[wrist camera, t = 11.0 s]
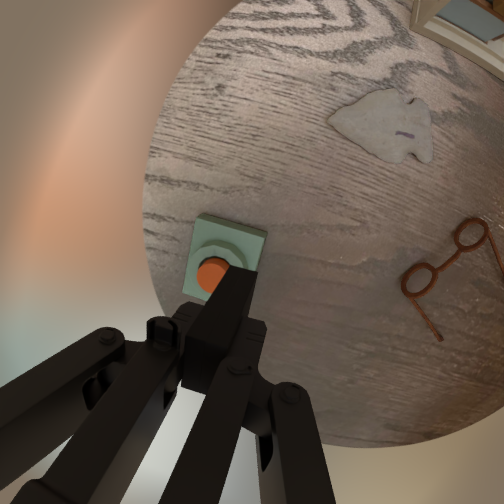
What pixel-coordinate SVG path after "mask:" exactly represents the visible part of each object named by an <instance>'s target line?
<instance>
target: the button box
mask: <svg viewBox="0 0 504 504" xmlns="http://www.w3.org/2000/svg"><path fill="white" fill-rule="evenodd" d="M266 236H267V232H264V231H261V230H258V229H254V228H251V227H248V226H244V225H241V224H237V223H234V222H231V221H227V220H224V219H221V218H217V217H214V216H210V215H207V214H203V213H202V214H201V215H199V216H198V217H196V221H195V226H194V231H193V236H192V241H191V247H190V252H189V258H188V263H187V269H186V275H185V280H184V286H183V293H185V294H188V295H191V296H194V297H197V298H199V299H202V300H205V301H208V299H209V297H210V296H211V294H212V293H208V292H206V291H205V290H203V289H202V288H201V287H200V285H199V284H198V281H197V271H198V269H199V268H200V267H201V266H202V264H203V263H204V262H205V261H206V260H208V259H210V258H220V259H223V260H224V261H226V262H227V263H228V264H229V265H233V266H237V267H241V268H245V269H249V270H252V271H257V267H258V264H259V260H260V257H261V253H262V250H263V246H264V243H265V239H266Z"/></svg>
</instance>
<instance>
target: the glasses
mask: <svg viewBox="0 0 504 504" xmlns="http://www.w3.org/2000/svg"><path fill="white" fill-rule="evenodd" d="M475 223H477V224H480V225H482V226H483V227H484V234H483V236H482V238H481V239H480V240H479V241H478V242H477V243H475V244H473V245H470V246H463V245H462V244H460V242H459V235H460V233H461V232H462V230H463V229H464V228H466V227H467V226H469V225H471V224H475ZM487 238H489V241H490V243H491V246H492V248H493V251H494V253H495V256H496V259H497V261H498V264H499V266H500V268H501V271H502V273H503V276H504V266H503V264H502V261H501V258H500V255H499V253H498V250H497V247H496V245H495V242H494V240H493V237H492V234H491V232H490V230H489V227H488V225H487V223H486V222H485V221H484V220H482V219H480V218H472V219H469V220H467V221H465V222H464V223H463V224H461V225H460V226H459V227H458V229H457V230H456V232H455V234H454V242H455V244H456V245H457V247H458V250H457V251H456V253H455V254H454V255H453V256H452V257H450V258H449V259H448V260H447V261H446V262H445V263H444V264H442V265H441V266H440V267H438V268H436V269H435V268H434V267H433V266H432V265H430V264H428V263H420V264H417V265H416V266H414V267H412V268H411V269H410V270H409V271H408V272H407V273H406V274H405V276H404V277H403V279H402V281H401V290H402V292H403V293H404V295H405V296H406V297H407V298H409V299H410V301H411V302H412V303H413V305H414V306H415V307H416V309H417V310H418V311H419V313H420V314H421V315H422V317H423V318H424V319H425V321H426V322H427V323H428V325H429V326H430V328H431V329H432V331H433V333H434V334H435V336H436V338H437V340H438V341H439V342H441V341H443V340H444V339H443V337H440V336H439V335H438V333H437V332H436V330H435V328H434V327H433V325H432V324H431V322H430V321H429V319H428V318H427V317H426V315H425V314H424V312H423V311H422V310H421V308H420V307H419V306H418V304H417V303H416V302H415V300H414V299H417V298H420V297H422V296H424V295H425V294H427V293H428V292H429V291H430V290H431V289H432V288H433V287H434V285H435V284H436V281H437V279H438V273H439V272H442V271H444V270H445V269H447V268H448V267H449V266H450V265H451V264H452V263H453V262H455V261H456V260H457V259H458V258H459V256H460V255H461V253H462V252H464V253H465V252H471V251H474V250H476V249H478V248H479V247H480V246H482V245H483V244H484V243H485V241H486V240H487ZM422 268H426V269H429V270H430V271H431V272H432V279H431V281H430V283H429V284H428V285H427V286H426V287H425V288H424V289H423V290H421V291H420V292H417V293H410V292H408V291H407V289H406V283H407V280H408V279H409V277H410V276H411V275H412V274H413V273H414V272H416V271H417V270H419V269H422Z"/></svg>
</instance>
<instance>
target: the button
mask: <svg viewBox="0 0 504 504" xmlns="http://www.w3.org/2000/svg"><path fill="white" fill-rule="evenodd" d="M229 266H230V265H229V264H228V263H227V262H226V261H224V260H223V259H220V258H210V259H208V260H206V261H205V262H204V263H203V264H202V266H201V267H200V268H199V269H198V271H197V281H198V284H199V285H200V287H201V288H202V289H203V290H205V291H206V292H208V293H213V291H214V290H215V288H216V287H217V285H218V283H219V282H220V280H221V279H222V277H223V276H224V274H225V273H226V271H227V269H228V268H229Z"/></svg>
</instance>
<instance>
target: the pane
mask: <svg viewBox="0 0 504 504" xmlns="http://www.w3.org/2000/svg"><path fill="white" fill-rule="evenodd" d="M486 1H487V2H489V3H491V4H492V5H493V10H495V11H496V12H498V13H499V14H501V15H502V16H504V0H486ZM502 37H504V33H503V34H501V35H499V36H497V37H495V38H493V39H491V40H493V41H496V40H498V39H500V38H502Z"/></svg>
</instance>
